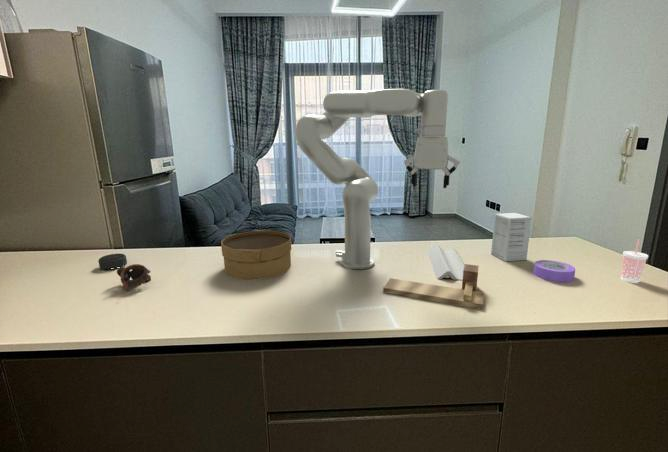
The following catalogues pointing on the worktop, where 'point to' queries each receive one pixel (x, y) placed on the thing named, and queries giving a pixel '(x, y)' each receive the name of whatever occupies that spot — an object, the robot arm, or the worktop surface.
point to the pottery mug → (133, 276)
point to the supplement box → (511, 236)
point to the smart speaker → (112, 261)
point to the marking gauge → (469, 280)
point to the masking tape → (554, 271)
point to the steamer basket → (256, 254)
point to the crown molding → (446, 262)
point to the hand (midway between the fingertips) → (429, 186)
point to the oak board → (433, 293)
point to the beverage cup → (633, 265)
